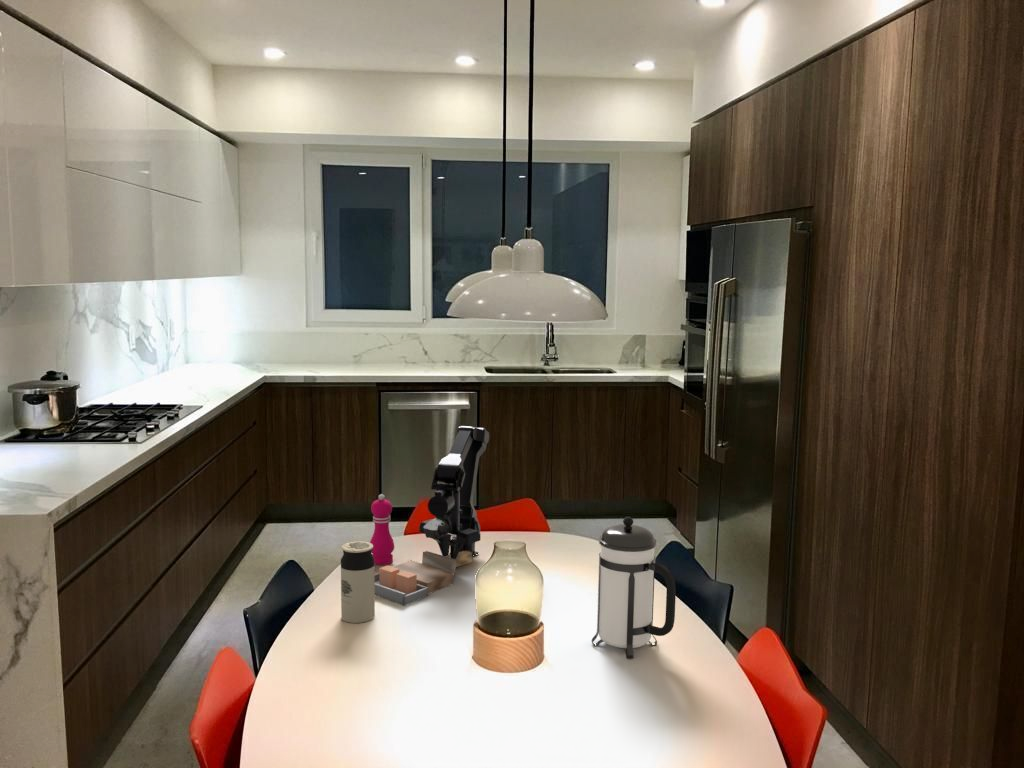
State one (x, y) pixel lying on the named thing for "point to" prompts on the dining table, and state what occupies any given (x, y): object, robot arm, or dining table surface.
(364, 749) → the dining table surface
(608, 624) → the coffee press
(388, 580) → the tan square block
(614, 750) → the dining table surface
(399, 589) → the tile
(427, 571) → the board
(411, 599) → the box
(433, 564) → the scraper
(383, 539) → the pepper mill
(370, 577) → the travel mug
